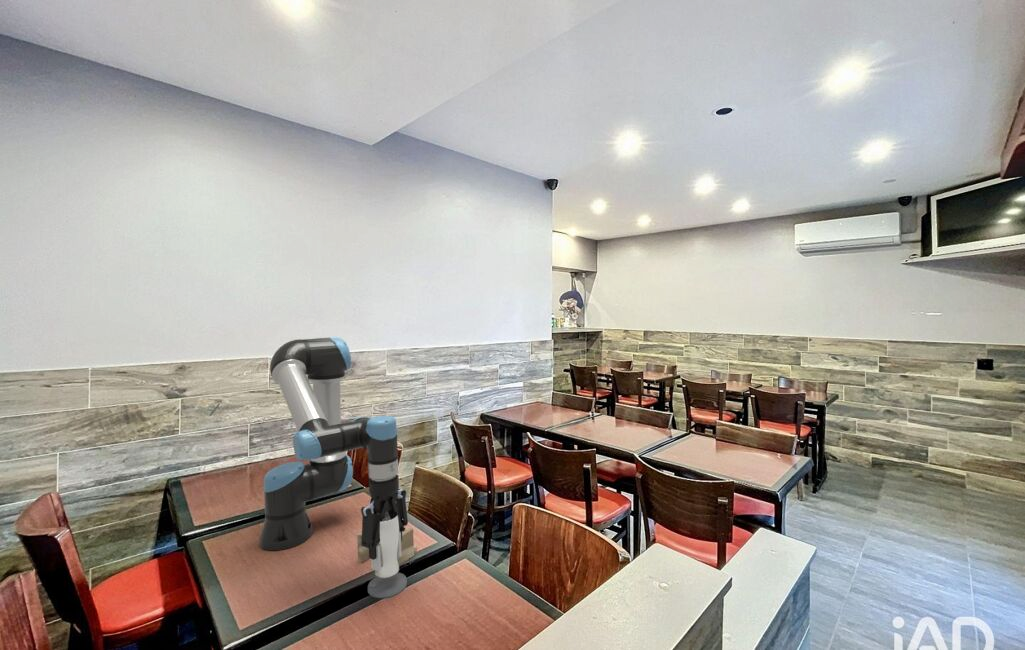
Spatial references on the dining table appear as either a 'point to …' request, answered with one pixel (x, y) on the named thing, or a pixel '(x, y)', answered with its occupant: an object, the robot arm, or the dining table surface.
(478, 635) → the dining table surface
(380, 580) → the coaster
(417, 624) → the dining table surface
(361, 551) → the rack
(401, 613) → the dining table surface
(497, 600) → the dining table surface
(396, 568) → the beer glass
